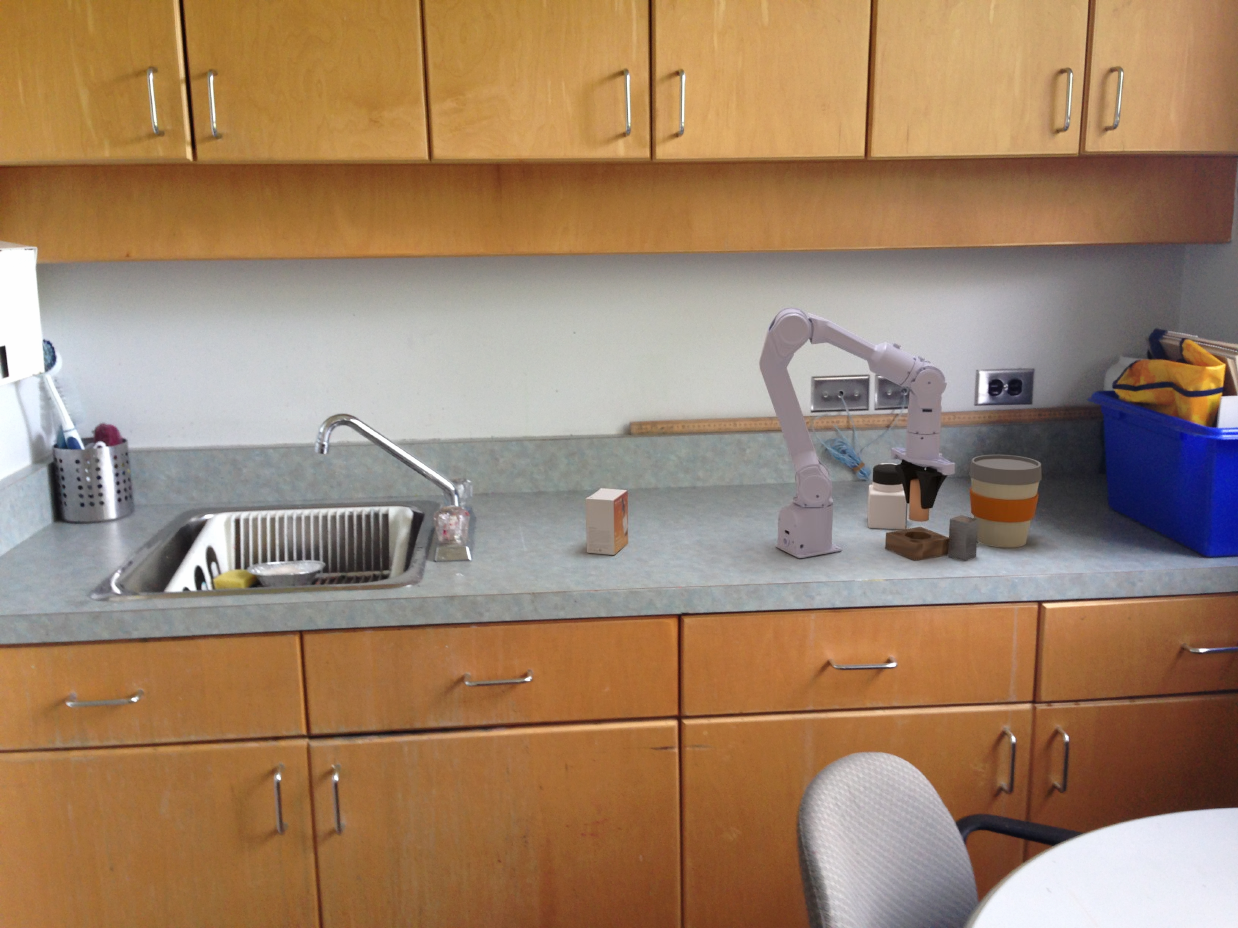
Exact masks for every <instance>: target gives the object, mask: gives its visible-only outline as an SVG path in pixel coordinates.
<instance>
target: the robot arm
mask: <svg viewBox="0 0 1238 928" xmlns="http://www.w3.org/2000/svg"><path fill="white" fill-rule="evenodd" d="M808 317H809V318H808ZM808 341H809V342H810V343H811V345H817V344H826V343H827V344H829V345H832V346H834V347H835V348H836V347H837V348H838V349H841V350H842V351H844V352H847V353H848V354H851V355H853V356H856V357H858V358H860V359H862V360H863V361H866V362H867V364H868V369H869V371H870V372H872V373H873V374H876V375H878V376H880V377H882V378H884V379H886V380H888V381H890V382H892V383H894V384H896V385H898V386H900V387H901V388H904V387H905V388H907V387H908V389H909V396H908V397H909V398H908V404H907V414H906V415H907V419H906V437H905V438H906V439H905V447H901V446H900V447H891V449H890V459H891V460H899V461H901V462H900V463H899V464H897V463H896V464H897V465H895V469H896V471H897V473H898V475H899V477H900V479H901V482H902V485H903V489H904V494H905V498H906V503H907V505H909V502H910V482H911V480H912V479H918V480H919V484H920V490H921V508H922V509H929V510H930V509H933V508H934V505H935V502H936V499H937V496H938V493H939V491H940V489H941V487H942V485H943V484H944V481H945V480H946V479H947V477H948V476H950V475H955V472H956V471H955V470H956V469H955V468H956V463H955V462H951V461H950V460H948V459H946V458H945V457H943V453H942V452H941V453H940V442H941V425H942V411H943V410H942V399H943V396H942V395H943V393H944V392H945V391H946V388H947V385H948V383H947V381H946V377H945V375H944V373H943V372H942V370H941V369H940V368H939V367H937V366H936V365H934V364H933V363H931V362H930V361H929V360H925V357H923V356H922V355H918V356H916V355H914V354H913V353H912V354H911V353H910V352H908V351H906V350H903V349H902V348H901V345H900V344H899V343H898V342H896V341H892V342H891V343H889V342H887V341H884V342H881V343H877V344H874V343H872V342H870V341H869V340H867V339H866V338H864V337H861V336H860V335H857V334H856V333H854V332H852V331H850V330H848V329H846V328H844V327H843V326H841V325H840V324H837V323H835V322H834V321H831V320H829V319H827V318H825V317H822V316H820V315H817V314H814V313H810V312H809V311H808V312H807V314H806V313H805V312H804V311H803V310H802V309H801V308H798V307H795V306H793V307H792V306H790V307H784V308H782V309H780V310H779V311H778V312H777V314H775V316H774V318H773V319H772V320H771V322H770V323H769V325H768V327H767V331H766V336H765V339H764V343H763V346H762V351H761V353H760V357H759V360H758V361H759V362H758V363H759V364H758V365H759V370H760V372H761V376H762V378H763V381H764V384H765V387H766V390H767V393H768V395H769V398H770V400H771V403H772V407H773V409H774V413H775V415H776V418H777V421H778V423H779V424H778V425H779V427H780V429H781V433H782V434H783V437H784V441H785V443H786V446H787V448H788V452H789V456H790V458H791V462H792V465H793V467H794V471H795V473H794V474H795V475H794V480H795V483H796V492H797V493H796V494H795V495H793V496H792V497H793V498H792V502H791V503H790V504H788V505H784V506H782V508H781V509H780V510H779V513H778V518H777V521H778V523H777V543H775V547H776V548H778V549H779V550H782V551H783V552H786V553H787V554H789V555H792V556H793V557H796V558H798V559H804V558H810V557H814V556H820V555H825V554H831V553H836V552H841V551H842V550H843V548H842V547H840V546H838V545H836V544H833V519H834V518H833V517H834V499H833V498H832V495H833V493H834V492H833V491H834V485H833V483H832V480H831V478H830V477H831V476H830V472H829V469H828V467H827V466H826V465H825V464H824V463H822V462H821V460H820V459H819V455H818V453H817V451H816V448H815V446H814V443H813V440H812V436H811V434H810V432H809V428H808V426H807V423H806V420H805V416H804V414H803V411H802V408H801V406H800V403H799V400H798V397H797V393H796V391H795V387H794V385H793V382H792V380H791V376H790V373H789V371H788V367H789V364H790V363H791V361H792V359H793V357H794V355H795V354H796V353H797V352H798V350H800V349H801V348H802V347H803V346H804V345H805V344H807V342H808Z"/></svg>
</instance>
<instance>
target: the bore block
mask: <svg viewBox="0 0 1238 928" xmlns="http://www.w3.org/2000/svg"><path fill="white" fill-rule="evenodd" d="M948 543H949V536H946V535H943V534H942V533H941V534H940V533H938V532H935V531H932V530H930V529H928V528H926V527H925V528H924V527H922V526H915V527H910V528H906V529H904V530H901V529H897V530H893V531H888V532H887V531H886V532H885V544H884V548H885V549H886V550H889V551H890V552H892V553H896V554H898V555H900V556H902V557H904V558H906V559H909V560H912V561H914V562H915V561H921V560H928V559H931V558H936V557H941V556H948Z"/></svg>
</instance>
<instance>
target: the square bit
mask: <svg viewBox="0 0 1238 928" xmlns="http://www.w3.org/2000/svg"><path fill="white" fill-rule="evenodd" d="M978 521H979V519H976V518H974V517H972V516H966V515H962V514H960V515H958V516H954V517H952V518H949V530H948V537H949V543H948V555H947V557H948V558H952V559H956V560H960V561H963V562H967V561H969V560H972V559H974V558H976V557H977V549H978V548H977V547H978V541H977V536H978Z"/></svg>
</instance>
